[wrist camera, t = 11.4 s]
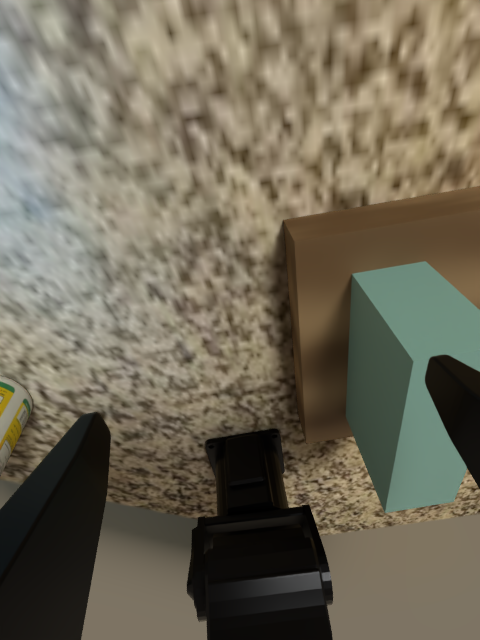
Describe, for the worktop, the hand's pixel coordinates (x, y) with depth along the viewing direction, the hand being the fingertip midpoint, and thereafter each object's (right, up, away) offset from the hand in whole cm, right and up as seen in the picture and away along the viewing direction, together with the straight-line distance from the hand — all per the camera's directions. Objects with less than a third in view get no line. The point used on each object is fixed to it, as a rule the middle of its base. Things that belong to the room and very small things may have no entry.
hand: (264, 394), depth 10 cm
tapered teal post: (+8, 0, +13) cm, 16 cm away
